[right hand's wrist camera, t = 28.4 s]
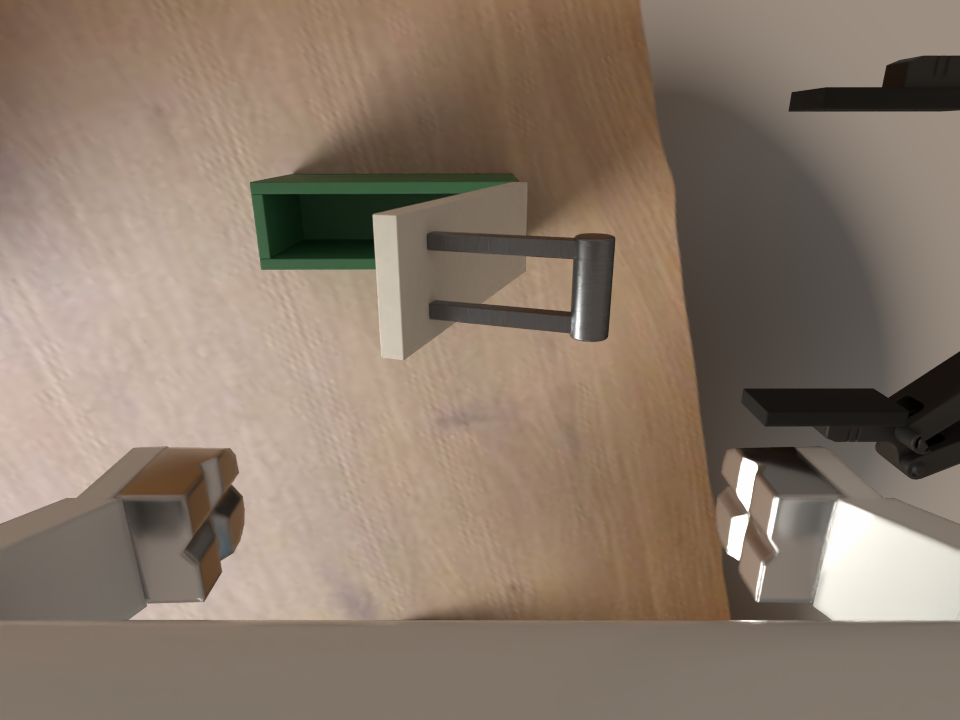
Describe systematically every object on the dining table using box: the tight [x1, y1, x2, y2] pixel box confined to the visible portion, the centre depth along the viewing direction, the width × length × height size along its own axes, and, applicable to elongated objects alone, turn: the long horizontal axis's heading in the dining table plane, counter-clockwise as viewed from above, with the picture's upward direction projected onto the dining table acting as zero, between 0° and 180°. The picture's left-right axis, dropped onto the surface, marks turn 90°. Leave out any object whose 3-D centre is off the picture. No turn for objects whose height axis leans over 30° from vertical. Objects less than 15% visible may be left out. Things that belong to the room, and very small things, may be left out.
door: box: [373, 182, 615, 360], centre depth 29 cm, size 18×6×8 cm
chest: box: [250, 174, 519, 270], centre depth 43 cm, size 17×6×9 cm, turn 90°
